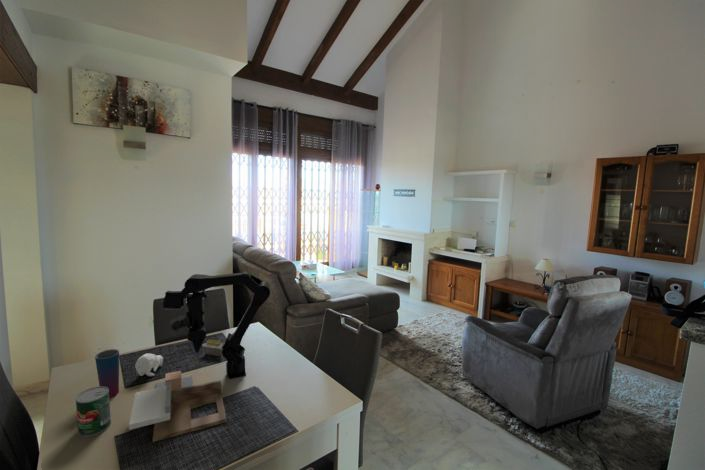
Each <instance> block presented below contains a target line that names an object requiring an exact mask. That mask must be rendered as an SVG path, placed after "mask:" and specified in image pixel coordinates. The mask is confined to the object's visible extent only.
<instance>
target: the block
mask: <svg viewBox="0 0 705 470" xmlns="http://www.w3.org/2000/svg"><path fill="white" fill-rule="evenodd" d="M182 378H183V376H182V370H177V371H172V372H168V373H165V378H164V382H165V386H167V382H171V390H176V389H181V388H182Z"/></svg>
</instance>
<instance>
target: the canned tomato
mask: <svg viewBox="0 0 705 470" xmlns="http://www.w3.org/2000/svg"><path fill="white" fill-rule="evenodd" d="M75 405H76V406H75V407H76V417H77V418H76V419H77V430H78V433H77V434H78V435H79V436H80V437H84V438H86V437H87V438H89V437H93V436H96V435H99V434H101V433H103V432H104V431H106V430H107V429H108V428H109V427H110V426H111V424H112V420H111V406H110V405H111V404H110V398H109V389H108V388H107V387H103V386H101V387H100V386H95V387H90V388H88V389H85V390H83V391H82V392H80V393H79V394H77V396H76V397H75Z"/></svg>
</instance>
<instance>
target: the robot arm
mask: <svg viewBox="0 0 705 470" xmlns="http://www.w3.org/2000/svg"><path fill="white" fill-rule="evenodd" d="M240 284H241V285H244V286H246V287H247V289H248V290H249V291H250V292H251V293H253V296H252V298H251V302H250V304H249V305H248V307H247V308H246V311H245V313H244V314H243V316H242V317H241V320H240V321H239V323H238V325H237V327H236V328H235V331H234V332H232V333H230V332H229V333H228V334H227V336H226V339H224V340H223V342H222V343H223V345H222V348H221V351H222V357H223V358H224V359H226V362H225V371H226V376H228V379H229V380H230V379H234V378H239V377H243V376H244V377H245V376H247V373H246V358H245V355H244V354H245V351H246V348H245V347H244V346H242V345H241V343H242V341H243V337H244V336H245V333H246V332H247V331H248V328H249V327H250V325H251V323H252V321H253V320H254V318H255V316H256V314H257V312H258V311H259V309H260V308H261V306H263V304H265V302H266V301H267V300H268V299H269V297H270V296H271V289H272V286H271V284H270V283H269V282H267V281H263V280H261V279H260V278H259V277H257V276H255V275H253V274H251V273H250V272H249V271H243V272H236V273H227V274H217V275H208V274H197V273H195V274H192V275H191V276H190V277H188V278H187V279H186V281H184V288H183V289H181V291H180V290H179V291H178V290H177V291H174V290H173V291H172V290H167V291H165V292H164V294H165V295H164V298H163V303H162V306H163V307H162V308H163V309H164V310H166V311H167V310H182V309H183V308H184V307H185V306H186V311H185V314H183V315H179V316H177V317H175V318H173V319H171V320H170V322H169V324H170V327H171V330H172V331H173V332H178V330H180V329H183V328H184V327H186V328H188V330H187V331H186V339H187V340H188V341H190V342H192V345H193V348H194V353H199V352H200V350H201V348H202V344H204V341H205V339H206V338H207V330H206V327H204V325H205V317H204V316H205V309H204V299H206V298H207V297H209V295H210V294H209V293H210V292H207V291H206V290H208V289H211V288H217V287H224V286H225V287H226V286H233V285H240Z"/></svg>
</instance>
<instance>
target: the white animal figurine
mask: <svg viewBox="0 0 705 470" xmlns="http://www.w3.org/2000/svg"><path fill="white" fill-rule="evenodd" d="M163 361H164V357H163V356H162V355H159V354H158V355H156V354H154V353H144V354H143V355H141V356H140V357H139V358H137V360H136V363H135V364H134V366H135V370H136V372H137V374H138V375H139V376H141V377H142V376H144V375H146V376H147V377H155V376H156V374H155V373H154V372H156V371H157V369H158V368H159V367H162V365H163V364H164V363H163ZM152 369H153V372H151V371H152Z"/></svg>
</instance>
